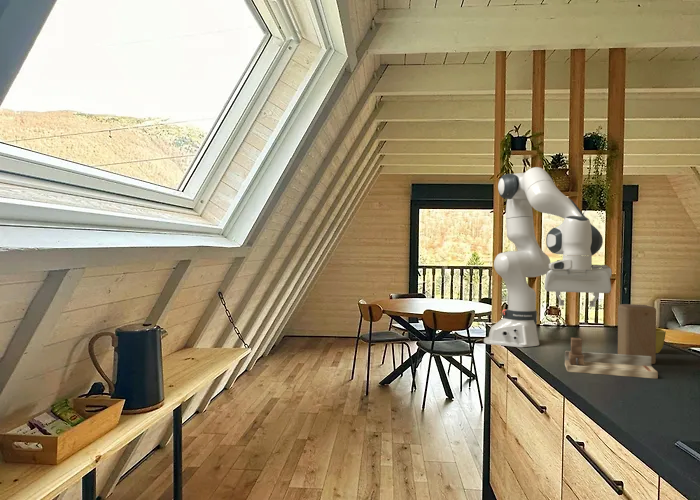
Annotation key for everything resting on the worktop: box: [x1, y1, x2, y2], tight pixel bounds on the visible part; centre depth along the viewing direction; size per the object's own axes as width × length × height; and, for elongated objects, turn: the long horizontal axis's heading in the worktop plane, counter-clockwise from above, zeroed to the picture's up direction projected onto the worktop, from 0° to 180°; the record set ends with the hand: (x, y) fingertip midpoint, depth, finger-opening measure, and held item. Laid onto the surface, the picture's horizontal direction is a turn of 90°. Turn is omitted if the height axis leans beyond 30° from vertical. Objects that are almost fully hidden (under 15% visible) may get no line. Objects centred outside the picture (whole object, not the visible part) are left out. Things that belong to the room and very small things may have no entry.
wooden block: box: [617, 303, 657, 365], centre depth 186 cm, size 10×10×20 cm
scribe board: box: [564, 350, 659, 380], centre depth 170 cm, size 26×10×5 cm, turn 72°
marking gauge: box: [569, 337, 584, 365], centre depth 172 cm, size 4×7×8 cm, turn 162°
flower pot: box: [656, 327, 666, 354], centre depth 203 cm, size 9×9×9 cm
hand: (576, 306), depth 172 cm, fingers open, 8 cm apart
